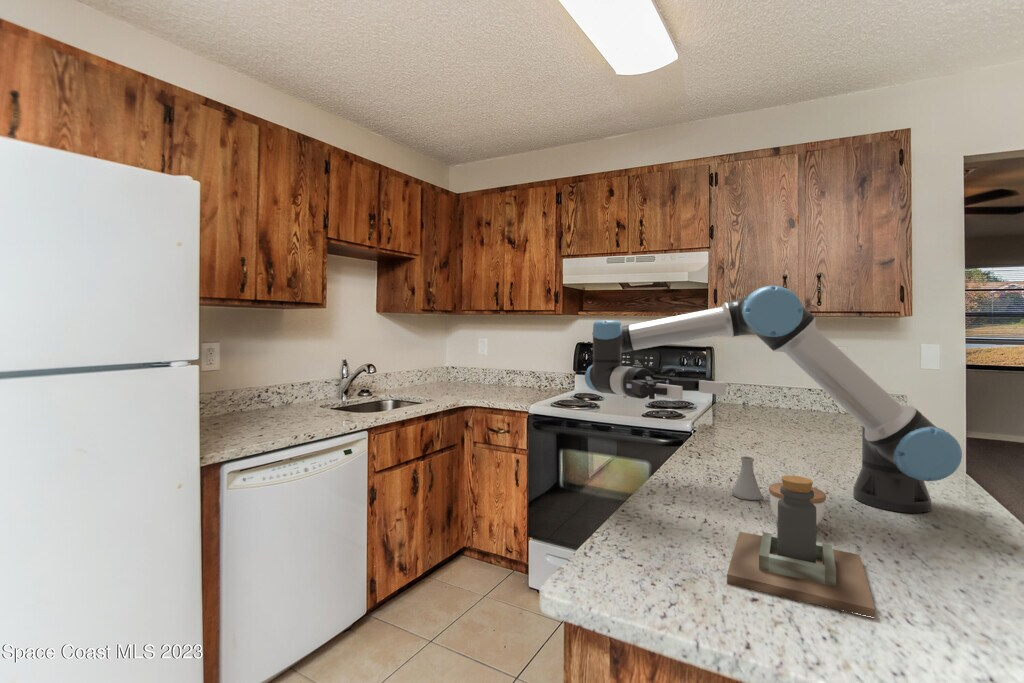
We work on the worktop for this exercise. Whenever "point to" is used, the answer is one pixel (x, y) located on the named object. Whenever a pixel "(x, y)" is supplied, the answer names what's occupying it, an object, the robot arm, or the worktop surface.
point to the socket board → (801, 574)
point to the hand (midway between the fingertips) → (703, 391)
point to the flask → (747, 482)
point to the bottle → (796, 520)
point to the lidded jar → (817, 500)
